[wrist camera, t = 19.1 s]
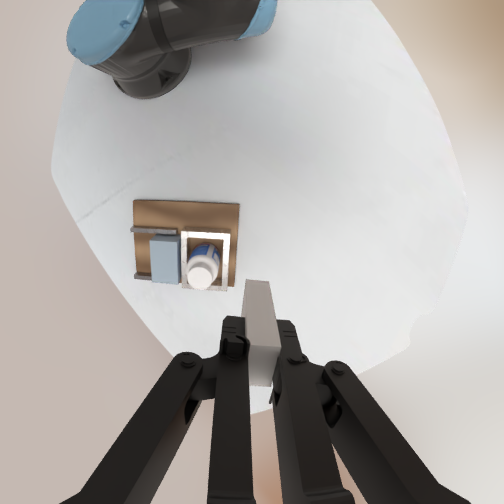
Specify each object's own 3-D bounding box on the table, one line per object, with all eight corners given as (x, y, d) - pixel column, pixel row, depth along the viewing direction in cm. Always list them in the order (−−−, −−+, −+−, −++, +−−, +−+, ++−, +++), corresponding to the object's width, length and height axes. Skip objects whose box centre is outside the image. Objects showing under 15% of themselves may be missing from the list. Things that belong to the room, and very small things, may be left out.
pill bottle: (187, 261, 51) (176, 284, 42) (199, 237, 49) (189, 256, 40) (213, 273, 52) (207, 298, 43) (225, 250, 50) (222, 271, 41)
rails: (133, 225, 48) (130, 228, 47) (178, 227, 49) (176, 230, 47) (137, 275, 52) (134, 278, 50) (178, 279, 52) (177, 282, 51)
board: (135, 199, 48) (132, 201, 46) (239, 204, 49) (239, 205, 48) (139, 276, 53) (137, 278, 52) (234, 283, 54) (234, 286, 53)
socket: (184, 226, 49) (181, 231, 46) (230, 229, 49) (229, 234, 46) (185, 280, 52) (182, 287, 49) (227, 284, 53) (227, 291, 50)
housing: (157, 233, 49) (149, 240, 44) (182, 234, 49) (177, 242, 45) (158, 272, 51) (152, 282, 47) (183, 274, 52) (178, 284, 47)
